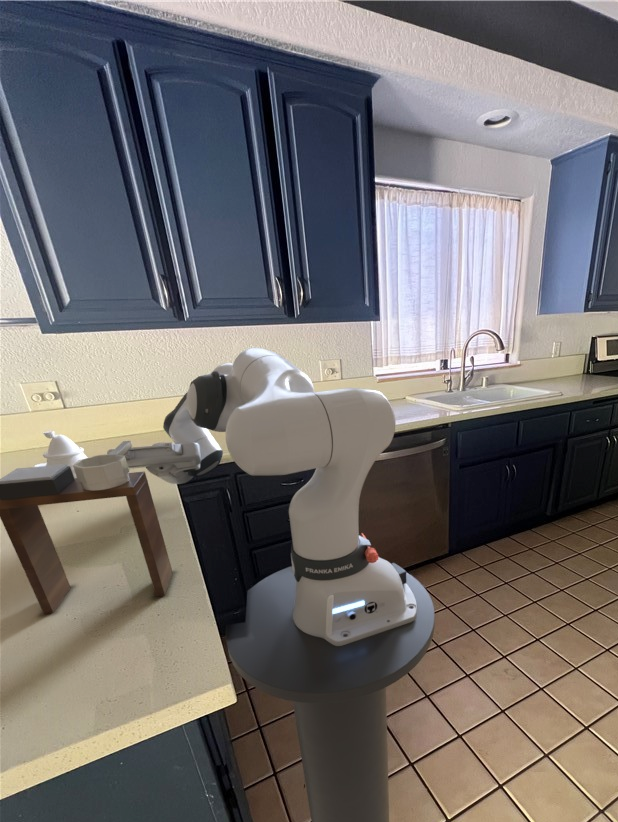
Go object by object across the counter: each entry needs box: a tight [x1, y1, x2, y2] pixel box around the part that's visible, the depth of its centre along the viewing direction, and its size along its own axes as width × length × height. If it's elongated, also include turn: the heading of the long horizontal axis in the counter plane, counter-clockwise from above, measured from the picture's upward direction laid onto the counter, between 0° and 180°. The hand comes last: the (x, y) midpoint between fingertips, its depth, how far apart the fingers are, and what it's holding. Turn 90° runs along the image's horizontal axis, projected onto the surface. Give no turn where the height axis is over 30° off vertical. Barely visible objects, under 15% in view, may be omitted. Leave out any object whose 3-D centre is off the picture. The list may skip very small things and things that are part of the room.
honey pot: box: [42, 430, 88, 478], centre depth 128 cm, size 13×13×18 cm
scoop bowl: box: [73, 440, 133, 491], centre depth 77 cm, size 7×19×4 cm, turn 14°
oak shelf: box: [0, 471, 174, 615], centre depth 77 cm, size 20×8×22 cm, turn 104°
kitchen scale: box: [0, 464, 75, 500], centre depth 70 cm, size 8×7×3 cm
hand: (146, 447), depth 97 cm, fingers open, 8 cm apart
